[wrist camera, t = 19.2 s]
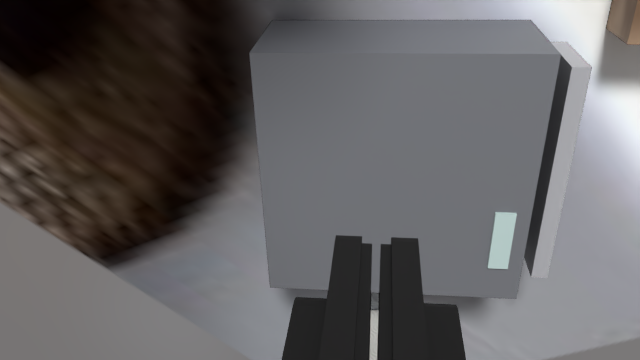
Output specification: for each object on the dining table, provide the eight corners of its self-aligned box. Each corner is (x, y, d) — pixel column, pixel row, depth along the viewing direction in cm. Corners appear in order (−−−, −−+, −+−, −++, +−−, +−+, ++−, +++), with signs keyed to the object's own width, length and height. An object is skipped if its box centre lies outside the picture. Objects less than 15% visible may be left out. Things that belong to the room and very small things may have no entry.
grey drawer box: (272, 20, 37) (248, 53, 30) (530, 19, 35) (562, 55, 29) (285, 228, 44) (269, 289, 38) (497, 236, 43) (516, 300, 37)
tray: (288, 41, 36) (275, 65, 32) (566, 41, 34) (591, 67, 30) (298, 227, 43) (288, 267, 39) (530, 235, 41) (547, 278, 37)
